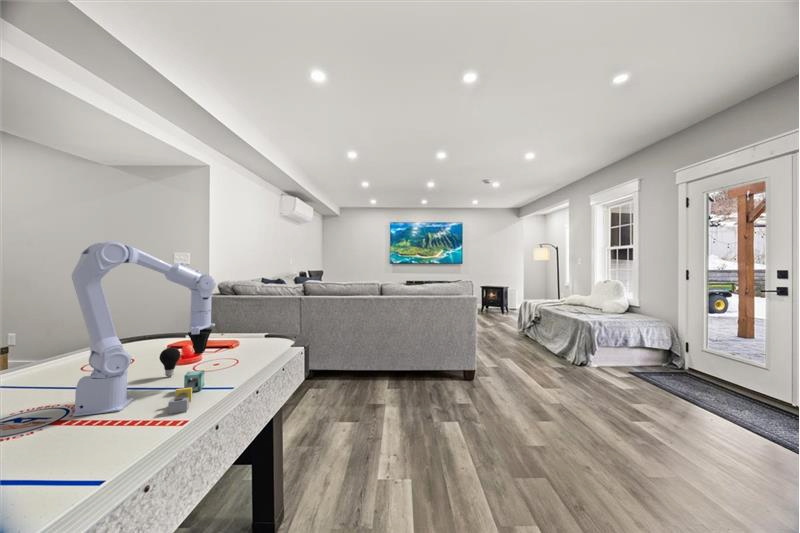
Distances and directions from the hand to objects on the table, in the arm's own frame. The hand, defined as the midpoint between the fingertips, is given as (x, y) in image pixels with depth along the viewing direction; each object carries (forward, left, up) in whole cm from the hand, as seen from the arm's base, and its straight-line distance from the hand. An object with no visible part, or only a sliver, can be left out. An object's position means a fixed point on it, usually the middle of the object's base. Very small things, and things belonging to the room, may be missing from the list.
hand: (200, 352), depth 102 cm
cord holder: (0, -14, -10) cm, 17 cm away
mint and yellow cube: (0, -7, -10) cm, 12 cm away
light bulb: (-11, +10, -10) cm, 18 cm away
